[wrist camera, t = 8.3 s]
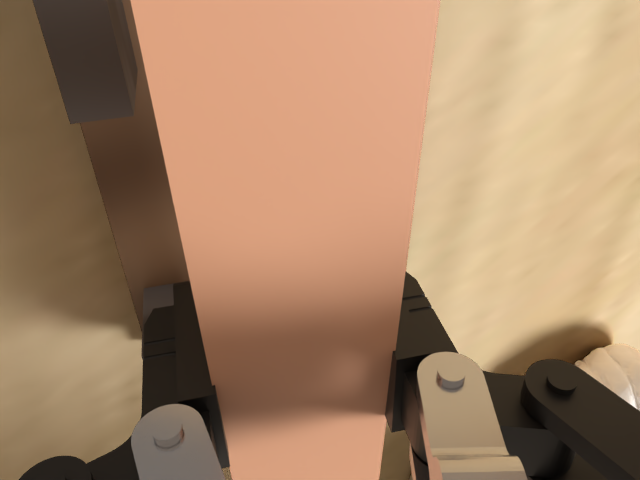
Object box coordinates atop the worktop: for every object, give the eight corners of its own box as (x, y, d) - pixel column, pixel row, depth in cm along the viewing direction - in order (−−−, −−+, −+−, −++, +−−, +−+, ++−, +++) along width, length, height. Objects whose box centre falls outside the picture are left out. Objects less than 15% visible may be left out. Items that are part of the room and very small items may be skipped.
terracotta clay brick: (337, -121, 10) (445, -35, 7) (330, 399, 21) (370, 543, 17) (132, -111, 10) (127, -11, 6) (231, 419, 20) (251, 572, 17)
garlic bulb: (518, 344, 30) (580, 431, 26) (624, 320, 31) (702, 401, 27) (506, 413, 33) (559, 501, 29) (603, 390, 34) (668, 472, 30)
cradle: (359, 302, 26) (392, 378, 22) (149, 340, 24) (148, 428, 21) (357, -87, 17) (410, -65, 14) (33, -62, 16) (-3, -31, 12)
